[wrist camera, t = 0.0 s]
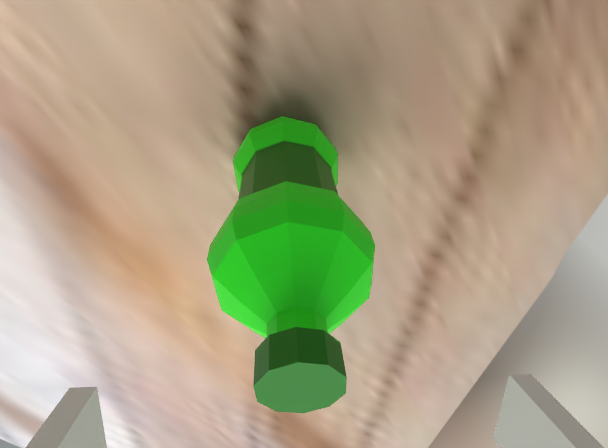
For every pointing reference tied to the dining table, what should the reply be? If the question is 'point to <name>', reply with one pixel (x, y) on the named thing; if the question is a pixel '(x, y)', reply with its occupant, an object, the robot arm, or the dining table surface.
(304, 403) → the plastic bottle
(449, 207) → the dining table surface
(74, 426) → the robot arm
